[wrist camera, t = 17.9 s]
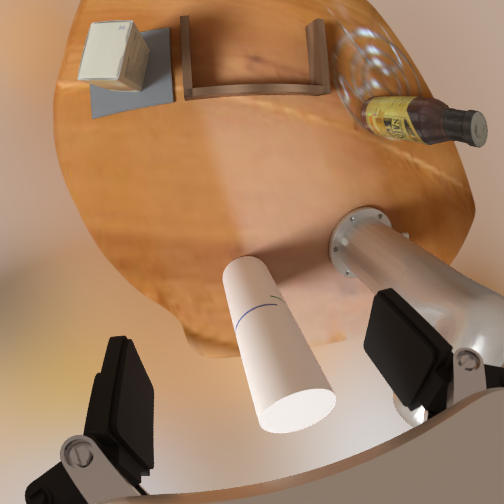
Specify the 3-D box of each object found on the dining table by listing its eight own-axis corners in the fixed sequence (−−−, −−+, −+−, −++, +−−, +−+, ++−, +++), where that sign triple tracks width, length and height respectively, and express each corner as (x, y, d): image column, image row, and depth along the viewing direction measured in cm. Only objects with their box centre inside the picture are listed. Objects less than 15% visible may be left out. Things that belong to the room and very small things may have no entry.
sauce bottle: (352, 122, 37) (455, 133, 19) (367, 89, 35) (470, 85, 17) (382, 143, 39) (482, 167, 22) (396, 111, 37) (496, 123, 20)
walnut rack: (311, 27, 30) (323, 19, 26) (317, 95, 34) (330, 93, 31) (181, 26, 27) (180, 16, 23) (185, 100, 32) (184, 97, 28)
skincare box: (120, 49, 26) (91, 19, 15) (151, 49, 27) (134, 16, 16) (109, 93, 29) (74, 80, 18) (141, 94, 30) (118, 79, 19)
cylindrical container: (224, 255, 42) (265, 395, 20) (271, 256, 43) (346, 382, 21) (221, 296, 45) (254, 437, 22) (264, 296, 46) (323, 425, 24)
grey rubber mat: (169, 28, 27) (169, 27, 26) (173, 102, 31) (173, 102, 31) (90, 46, 25) (89, 45, 25) (93, 118, 30) (92, 118, 29)
